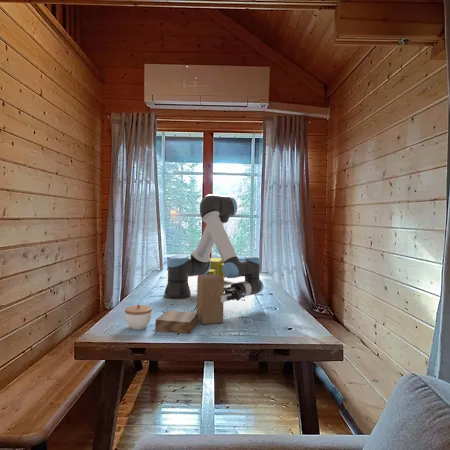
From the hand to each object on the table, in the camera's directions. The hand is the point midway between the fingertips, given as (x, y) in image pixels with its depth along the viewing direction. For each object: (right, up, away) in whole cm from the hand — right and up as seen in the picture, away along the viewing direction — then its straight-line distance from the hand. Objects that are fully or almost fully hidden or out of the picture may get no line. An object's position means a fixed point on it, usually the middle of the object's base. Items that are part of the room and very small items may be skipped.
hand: (209, 296), depth 152 cm
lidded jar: (-29, -11, -11) cm, 33 cm away
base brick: (-13, -11, -9) cm, 19 cm away
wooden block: (0, -11, +1) cm, 11 cm away
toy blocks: (+1, -10, +87) cm, 88 cm away
